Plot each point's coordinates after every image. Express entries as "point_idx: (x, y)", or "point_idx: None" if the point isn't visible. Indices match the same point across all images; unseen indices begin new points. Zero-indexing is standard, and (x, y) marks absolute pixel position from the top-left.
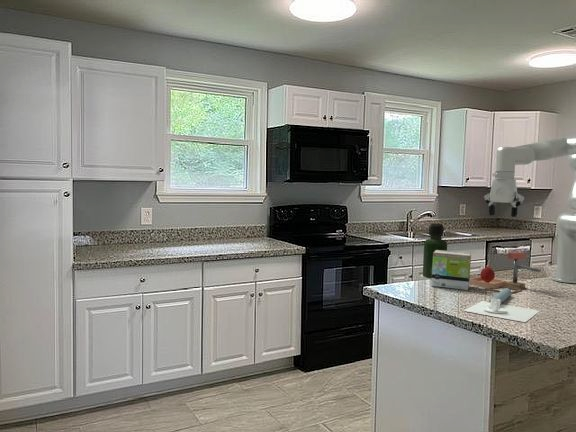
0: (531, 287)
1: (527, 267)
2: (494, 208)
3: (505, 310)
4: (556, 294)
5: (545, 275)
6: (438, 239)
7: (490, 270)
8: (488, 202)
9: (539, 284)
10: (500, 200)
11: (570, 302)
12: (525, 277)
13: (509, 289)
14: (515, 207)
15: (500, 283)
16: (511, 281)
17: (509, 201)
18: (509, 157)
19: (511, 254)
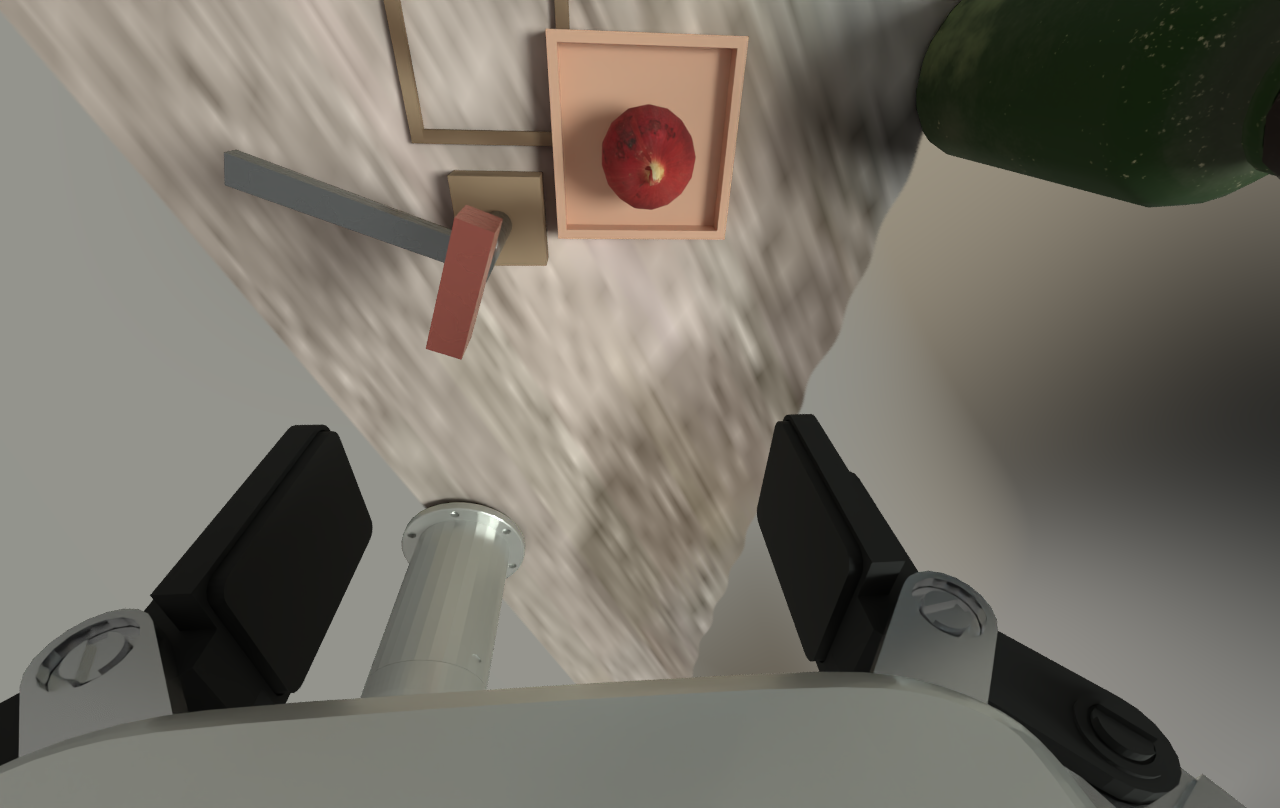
0: None
1: (342, 196)
2: (797, 613)
3: None
4: (275, 235)
5: (595, 585)
6: (1267, 37)
7: (622, 146)
8: (1027, 691)
9: (493, 408)
10: (502, 762)
11: (46, 57)
12: (620, 498)
13: None
14: (132, 631)
15: (553, 151)
16: (537, 251)
17: (16, 768)
18: None
19: (457, 214)
